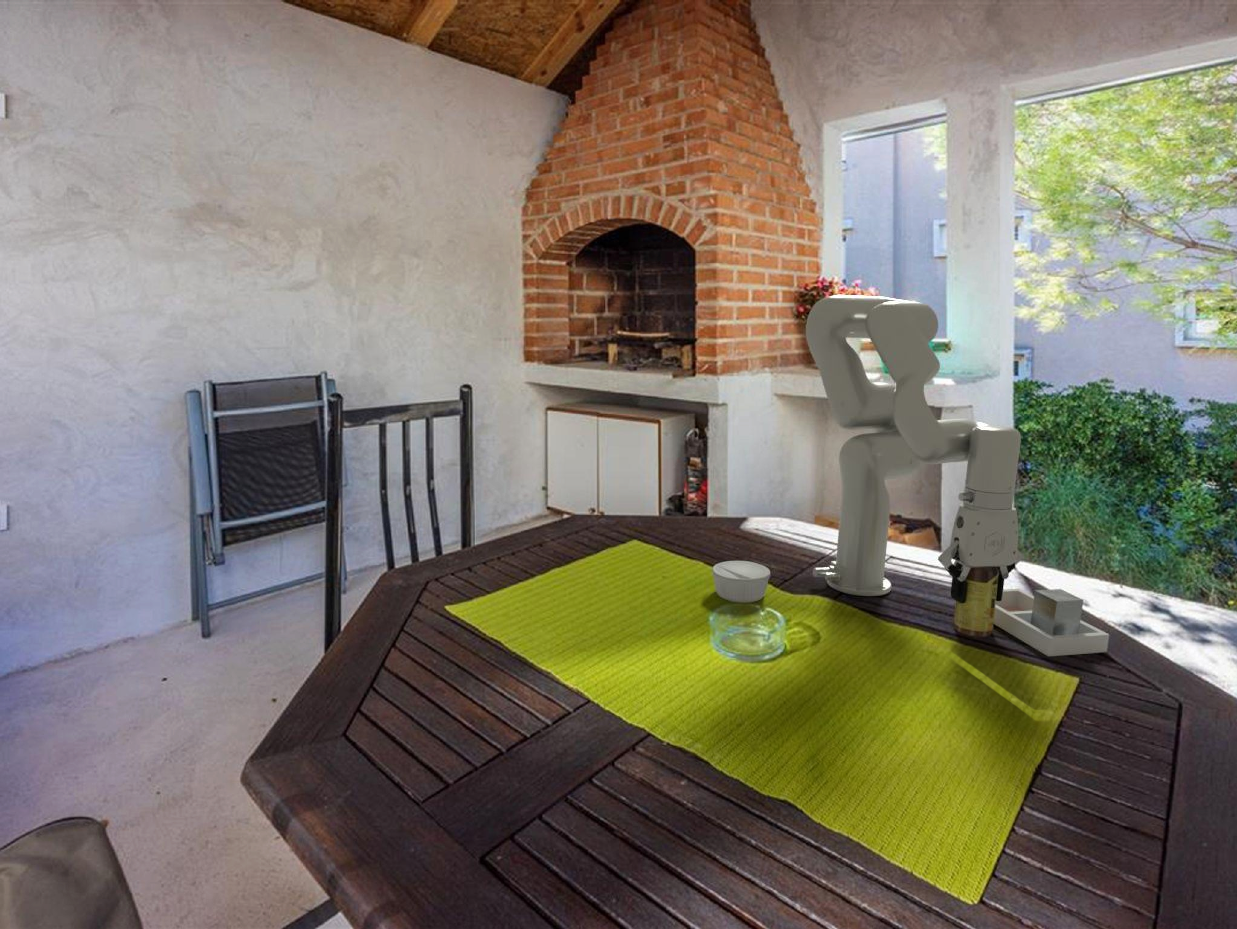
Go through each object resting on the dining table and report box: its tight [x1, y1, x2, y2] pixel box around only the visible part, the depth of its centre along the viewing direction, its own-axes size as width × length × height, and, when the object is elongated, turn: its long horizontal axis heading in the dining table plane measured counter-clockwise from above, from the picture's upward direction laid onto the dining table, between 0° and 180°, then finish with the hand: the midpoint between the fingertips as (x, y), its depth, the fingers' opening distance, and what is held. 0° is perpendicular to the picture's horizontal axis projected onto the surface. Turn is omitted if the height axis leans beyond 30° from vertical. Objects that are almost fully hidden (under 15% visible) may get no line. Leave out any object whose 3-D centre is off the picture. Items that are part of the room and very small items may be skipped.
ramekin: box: [711, 560, 771, 604], centre depth 147 cm, size 11×11×5 cm
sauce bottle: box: [953, 565, 999, 638], centre depth 128 cm, size 7×6×20 cm
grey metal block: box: [1030, 588, 1084, 636], centre depth 126 cm, size 5×5×8 cm
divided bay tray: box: [993, 588, 1110, 657], centre depth 131 cm, size 21×11×4 cm, turn 11°
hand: (975, 598), depth 129 cm, fingers closed on sauce bottle, 6 cm apart
